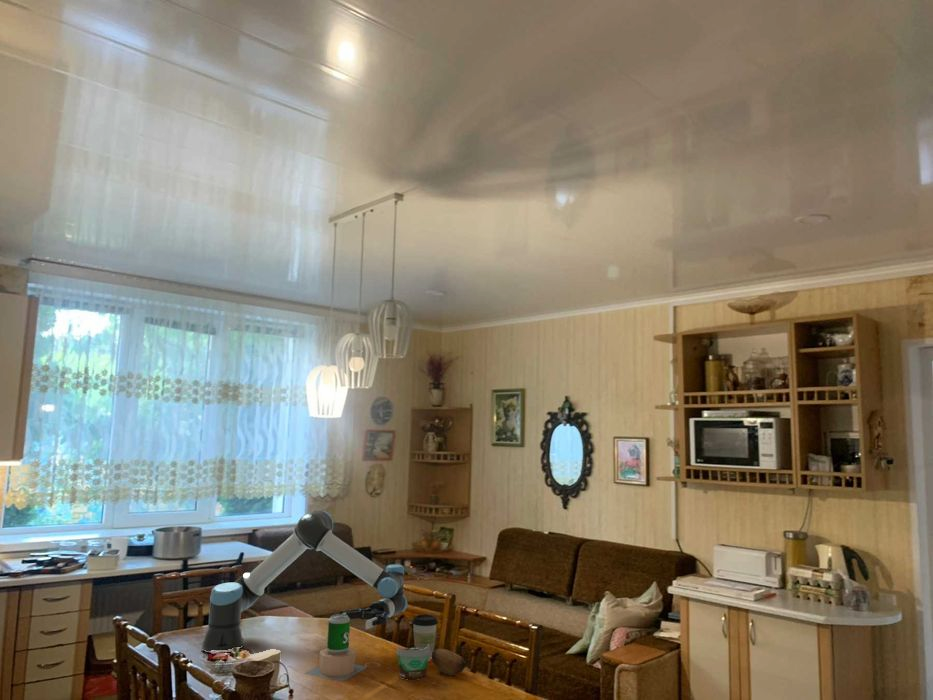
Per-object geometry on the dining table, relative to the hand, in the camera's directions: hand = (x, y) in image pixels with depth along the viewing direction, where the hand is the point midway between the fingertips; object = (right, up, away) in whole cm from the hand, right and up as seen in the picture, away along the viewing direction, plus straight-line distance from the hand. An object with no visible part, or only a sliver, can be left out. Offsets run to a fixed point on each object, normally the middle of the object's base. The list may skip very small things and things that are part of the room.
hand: (350, 622), depth 236 cm
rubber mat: (-3, -14, -9) cm, 17 cm away
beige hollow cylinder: (-3, -13, -8) cm, 16 cm away
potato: (+36, -15, -6) cm, 40 cm away
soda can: (-3, -7, -8) cm, 11 cm away
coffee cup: (+26, -17, +9) cm, 33 cm away
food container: (+25, -14, -12) cm, 31 cm away
